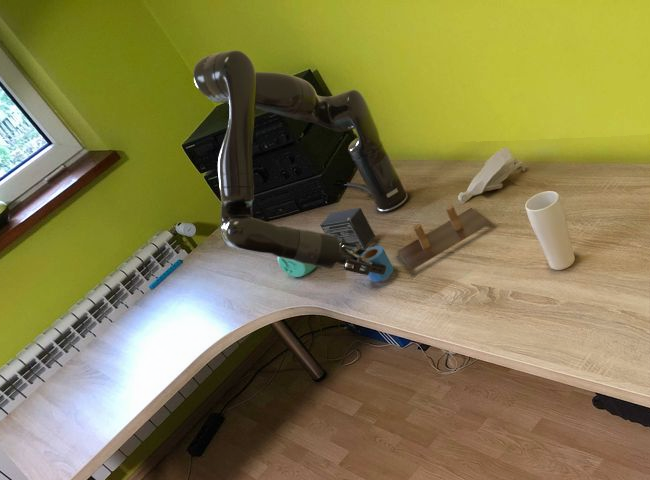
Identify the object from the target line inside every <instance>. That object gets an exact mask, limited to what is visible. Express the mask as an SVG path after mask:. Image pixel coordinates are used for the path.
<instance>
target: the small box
mask: <svg viewBox="0 0 650 480" xmlns="http://www.w3.org/2000/svg"><path fill="white" fill-rule="evenodd" d="M319 226H320V228H321V230H322V231H323V233H324V234H326V235H331V236H335V237H337V238H338V240H339V241H343V242H348V243H352V244H356V245H357V247H360V248H361V250H362V249H364V250H367V249H368V247H369V246H370V244H371V243H372V241H373V240H374V239H375V237H376V234H375V232H374V231H373V228H372V227H371V225H370V223H369V221H368V220H367V218H366V216H365V214H364V212H363V210H362V208H361V207H355V208H349V209H344V210H340V211H333V212H330V213H329V214H328V215H327V216H326V217H325V219H324V220H323V221H322V222H321V223H320V224H319Z"/></svg>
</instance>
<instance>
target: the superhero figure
mask: <svg viewBox="0 0 650 480" xmlns="http://www.w3.org/2000/svg"><path fill="white" fill-rule="evenodd" d="M512 165H513V166H512ZM519 168H521V170H522V171H523V172H526V167H525V164H524V163H523V161H519V162H518V159H517V157H514V158H513V156H512V154H511V150H510V148H509V147H503V148H501V149H498V150H497V151H496V152H495V153H493V155H492V156H490V157H489V158H488V159H487V160H486V161H485V163H484V164H483V167H482V169H481V170H480V171H479V172H478V173H476V175H475V176H474V177H473V179H472V180H471V181H470V184H469V185H468V187H467V189H466V191H463V192H460V193H458V198H457V199H458V201H459V202H460V203H461V204H465V203H467V202H468V201H469V200H470V199H471V198H472V197H476V196H477V195H480V194H482V193H484V192H490V191H494V190H497V189H503V183H502V182H504V180H506V179H508V177H509V175H510V174H511V173H514V172H515V171H516V170H517V169H519Z"/></svg>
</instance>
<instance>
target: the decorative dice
mask: <svg viewBox="0 0 650 480" xmlns="http://www.w3.org/2000/svg"><path fill="white" fill-rule="evenodd" d="M277 262H278V265H279V267H280V268H281V270H282V271H283V272H284V273H285V274H287V275H289V276H291V277H295V278H301V277H305V276H307V275H308V274H310V273H311V272H313V271H314V270H315V269H316V268H317V266H313V265H308V264H303V263H300V262H297V261H294V260H289V259H285V258H280V257H277Z"/></svg>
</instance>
